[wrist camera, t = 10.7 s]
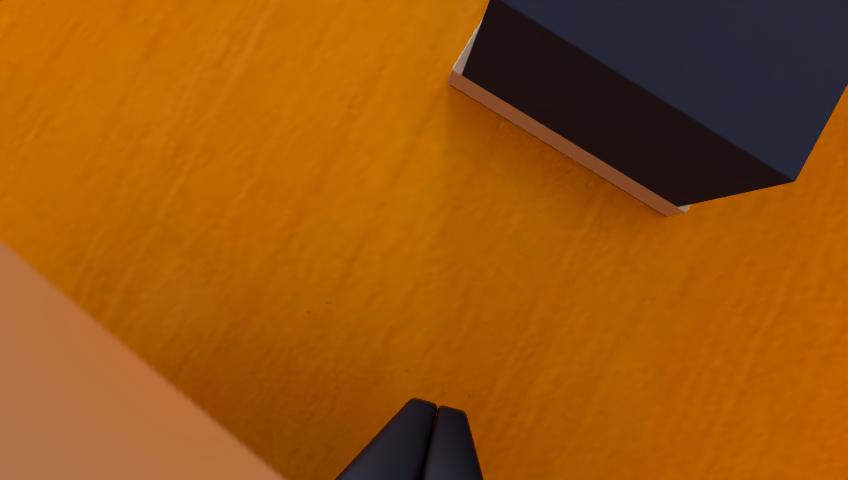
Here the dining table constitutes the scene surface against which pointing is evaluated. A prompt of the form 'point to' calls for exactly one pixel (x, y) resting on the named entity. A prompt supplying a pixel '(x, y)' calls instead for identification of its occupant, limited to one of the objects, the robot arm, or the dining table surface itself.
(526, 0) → the navy stepped block
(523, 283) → the dining table surface
